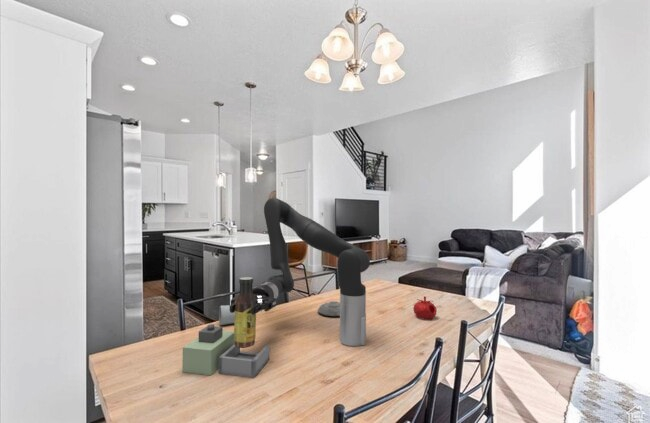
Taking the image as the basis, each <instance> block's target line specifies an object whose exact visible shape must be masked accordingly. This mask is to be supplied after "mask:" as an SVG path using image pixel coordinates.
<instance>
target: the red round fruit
mask: <svg viewBox="0 0 650 423" xmlns="http://www.w3.org/2000/svg"><path fill="white" fill-rule="evenodd" d="M416 300H417V302H415V303H414V305H413V307H412V308H413V310H412V311H413V312H414V314H415V316H416V317H417V318H419V319H421V320H428V321H429V320H430V321H431V320H433V319H435V318H436V315H437V312H438V311H437V307H436V306H435V304H434V301H433V300H427V296H423V300H422V299H416Z"/></svg>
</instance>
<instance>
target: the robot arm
mask: <svg viewBox="0 0 650 423" xmlns="http://www.w3.org/2000/svg"><path fill="white" fill-rule="evenodd" d="M263 214H264V219H265V220H264V221H265V224H266V229H267V234H268V235H267V236H268V240H269V247H270V248H269V252H270V266H271V269H272V270H276V271H281V273H282V274H279V275H278V274H277V275H272V276H270V277H268V279H267V280H266V282H264V283H261V284H259V285H258V286H256V287H254V288H252V291H253V292H252V293H253V296H254V299H255V302H256V305H254V306H253V307H252V308H251V314H252V315H254V314H256V315H257V314H258V313H259V312H262V311H263V310H264V312H269V311H271V310H272V309H274V308H275V307H276V306H277V299H278V298H280V296H281V294H284V293H285V294H286V293H291V292H292V291H293V289H294V286H295V281H294V278H293V274H292V271H291V268H290V265H289V255H288V254H289V253H288V252H289V251H288V246H287V244H286V239H285V238H284V235H283V232H282V229H281V224H283V225H284V226H287V227H288V228H290V229H291V230H293V232H295V234H296V236H298V238H299V239H300V240H301V241H303V242H304V243H306V244H307V245H308V246H310V247H311V248H314V249H316V250H318V251H321V252H325V253H326V254H330V255H332V256H334V257H336V258H337V264H336V265H337V266H336V267H337V283H338V284H337V285H338V287H339V303H340V316H339V342H340V343H341V344H342V345H344V346H348V347H359V346H366V340H367V339H366V338H367V313H366V310H367V309H366V303H367V302H366V300H367V298H366V297H367V296H366V295H367V293H366V292H367V291H366V285H365V284H363V283H362V275H361V274H362V273H363V272H366V271H367V270H368V269H369V267H370V264H371V262H370V260H371V259H370V256H369V255H368V253H367V252H366V251H365V250H364V249H362V248H361V247H358V246H355V245H354V244H352V243H351V242H349V241H346V240H344V239H342V238H341V237H339V236H338V235H337V234H335V233H333V232H332V231H330V230H329V229H328V228H326V227H324V226H323V225H322V224H320V223H318V222H317V221H316V220H313V219H312V218H309V217H308V216H305V215H303V214H301V213H300V212H298V211H297V210H296V209H294V208H293V207H292V206H291V205H290V204H289V203H287V202H285V201H283V200H281V199H279V198H277V197H270V198H269V199H267V200H266V202H265V203H264V205H263ZM238 296H239V294H237V295H236V296H234V297H233V298H232V299H230V313H233V312H235V302H236V299H237V297H238Z"/></svg>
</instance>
